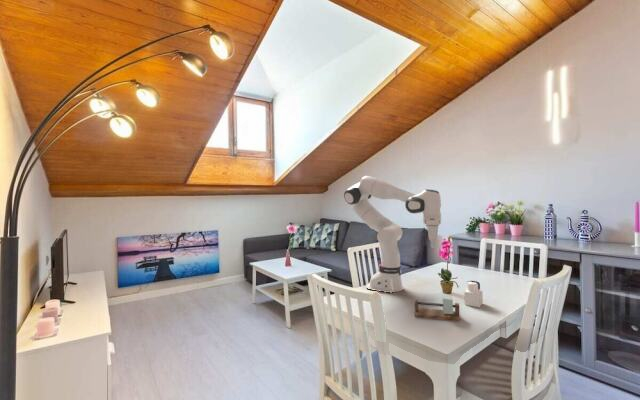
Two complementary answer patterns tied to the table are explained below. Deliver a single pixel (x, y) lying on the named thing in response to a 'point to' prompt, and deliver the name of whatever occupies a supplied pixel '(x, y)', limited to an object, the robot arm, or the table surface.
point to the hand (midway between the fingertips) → (432, 246)
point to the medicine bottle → (473, 294)
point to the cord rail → (436, 312)
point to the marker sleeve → (447, 305)
